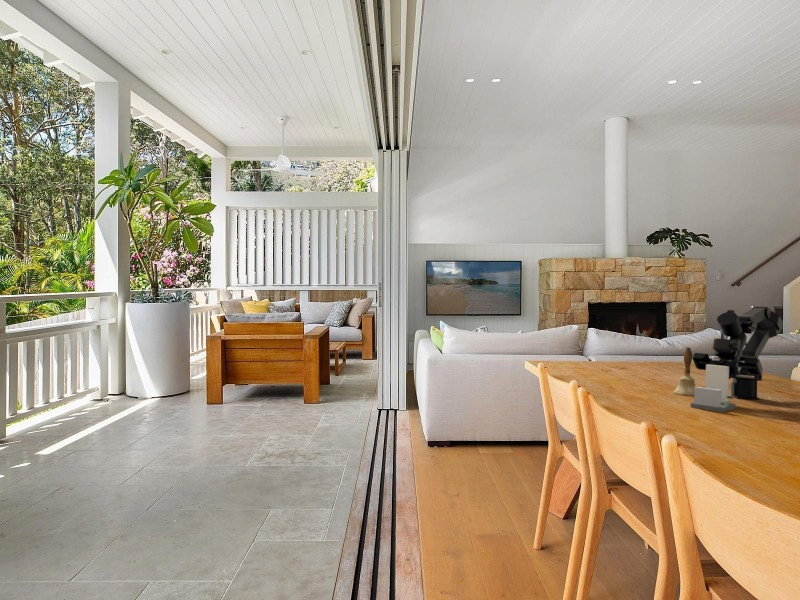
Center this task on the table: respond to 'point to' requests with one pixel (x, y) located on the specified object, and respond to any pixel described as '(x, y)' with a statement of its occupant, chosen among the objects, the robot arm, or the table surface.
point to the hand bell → (686, 377)
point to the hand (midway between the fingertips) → (718, 384)
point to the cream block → (718, 380)
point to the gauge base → (710, 400)
